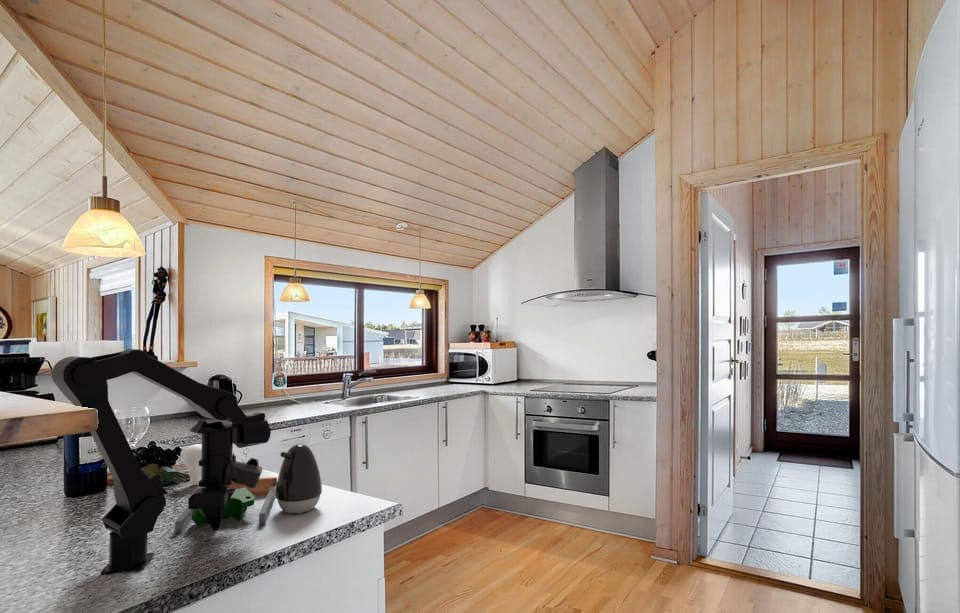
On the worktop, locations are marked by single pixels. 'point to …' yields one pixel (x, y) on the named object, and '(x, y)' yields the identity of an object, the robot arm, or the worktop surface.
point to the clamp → (229, 507)
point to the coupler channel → (262, 488)
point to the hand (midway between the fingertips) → (216, 529)
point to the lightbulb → (193, 462)
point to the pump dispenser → (298, 480)
